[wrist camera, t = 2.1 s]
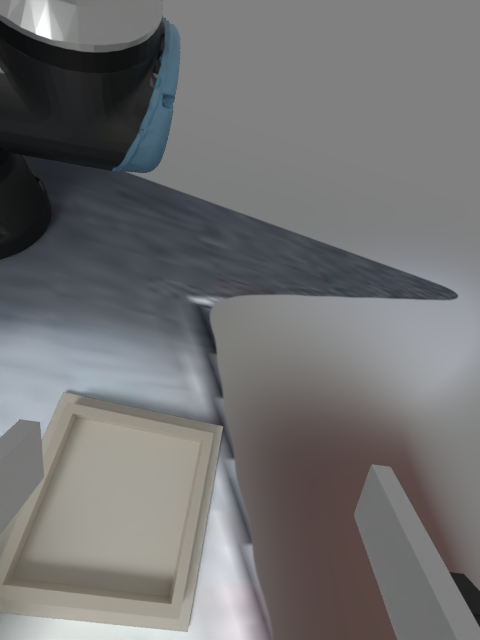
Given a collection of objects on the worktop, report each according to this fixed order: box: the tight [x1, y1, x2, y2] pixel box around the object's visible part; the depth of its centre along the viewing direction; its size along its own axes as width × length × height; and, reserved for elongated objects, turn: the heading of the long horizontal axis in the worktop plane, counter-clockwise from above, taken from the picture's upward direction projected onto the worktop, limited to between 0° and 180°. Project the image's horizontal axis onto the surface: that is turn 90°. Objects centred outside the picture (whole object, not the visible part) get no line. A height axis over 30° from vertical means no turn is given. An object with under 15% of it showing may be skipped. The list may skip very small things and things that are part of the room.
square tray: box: [0, 392, 223, 632], centre depth 27 cm, size 16×16×2 cm
